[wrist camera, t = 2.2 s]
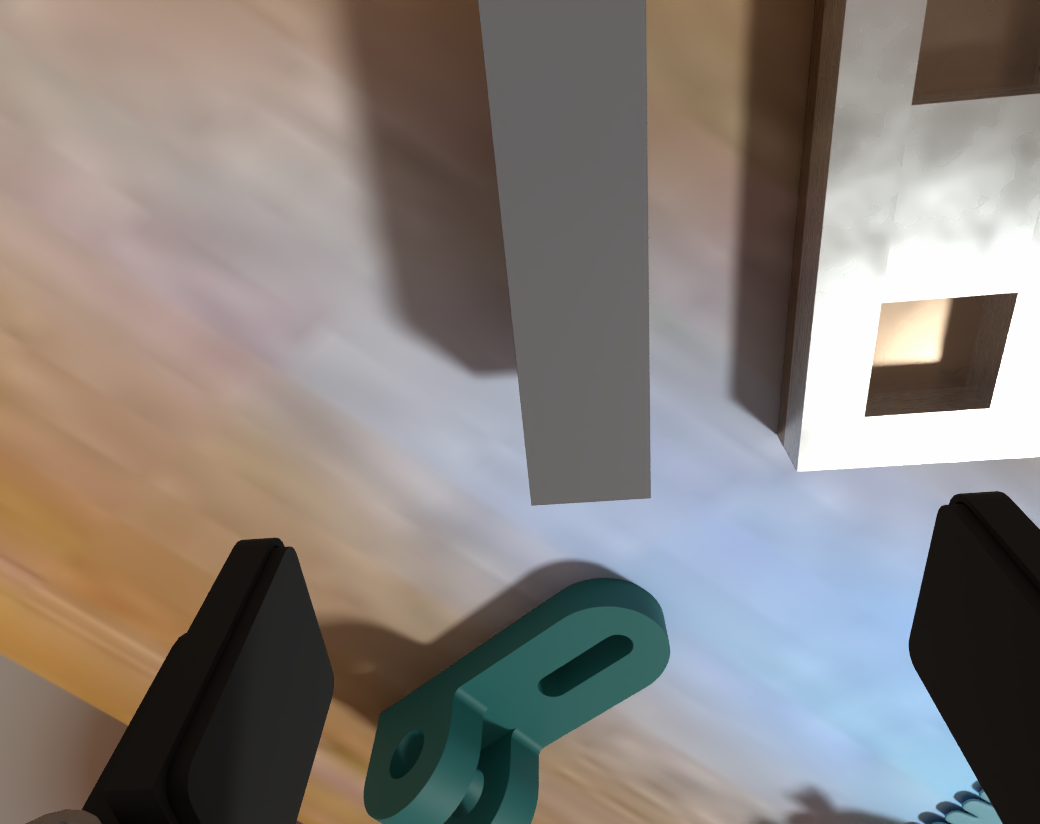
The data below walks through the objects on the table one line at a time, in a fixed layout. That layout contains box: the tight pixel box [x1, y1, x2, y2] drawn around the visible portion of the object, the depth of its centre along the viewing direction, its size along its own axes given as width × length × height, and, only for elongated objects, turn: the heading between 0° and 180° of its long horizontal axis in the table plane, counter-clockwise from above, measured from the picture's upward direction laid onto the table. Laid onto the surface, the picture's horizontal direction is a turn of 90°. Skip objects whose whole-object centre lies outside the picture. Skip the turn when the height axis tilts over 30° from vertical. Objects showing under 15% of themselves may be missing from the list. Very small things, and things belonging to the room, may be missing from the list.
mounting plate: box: [777, 0, 1040, 472], centre depth 28 cm, size 10×22×3 cm, turn 5°
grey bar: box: [478, 0, 651, 505], centre depth 27 cm, size 4×18×7 cm, turn 5°
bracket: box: [364, 578, 670, 824], centre depth 39 cm, size 18×7×8 cm, turn 133°
